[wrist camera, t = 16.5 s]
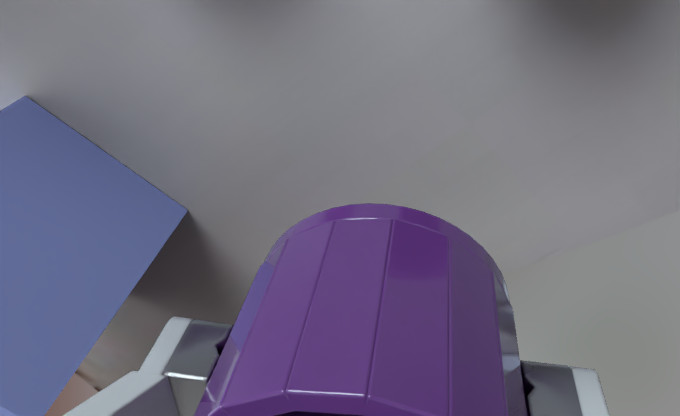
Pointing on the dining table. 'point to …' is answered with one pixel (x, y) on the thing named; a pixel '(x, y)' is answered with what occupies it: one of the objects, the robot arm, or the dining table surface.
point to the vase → (65, 250)
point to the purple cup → (371, 324)
